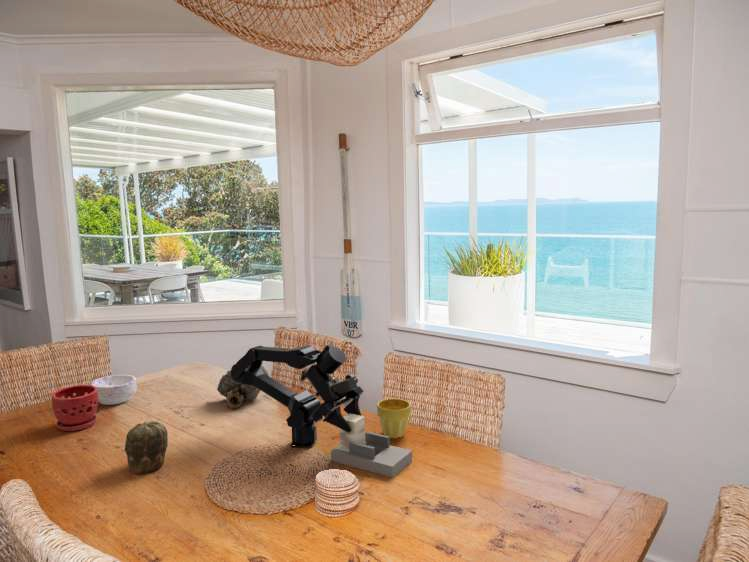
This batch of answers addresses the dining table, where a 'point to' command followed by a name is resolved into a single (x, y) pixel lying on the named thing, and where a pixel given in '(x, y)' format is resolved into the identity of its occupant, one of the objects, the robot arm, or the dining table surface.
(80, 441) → the dining table surface
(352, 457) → the tunnel deck
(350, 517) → the dining table surface
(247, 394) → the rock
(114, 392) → the white bowl
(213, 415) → the dining table surface
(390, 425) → the plant pot
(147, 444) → the olive lumpy chunk
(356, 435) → the cream block
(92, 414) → the plant pot
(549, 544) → the dining table surface
